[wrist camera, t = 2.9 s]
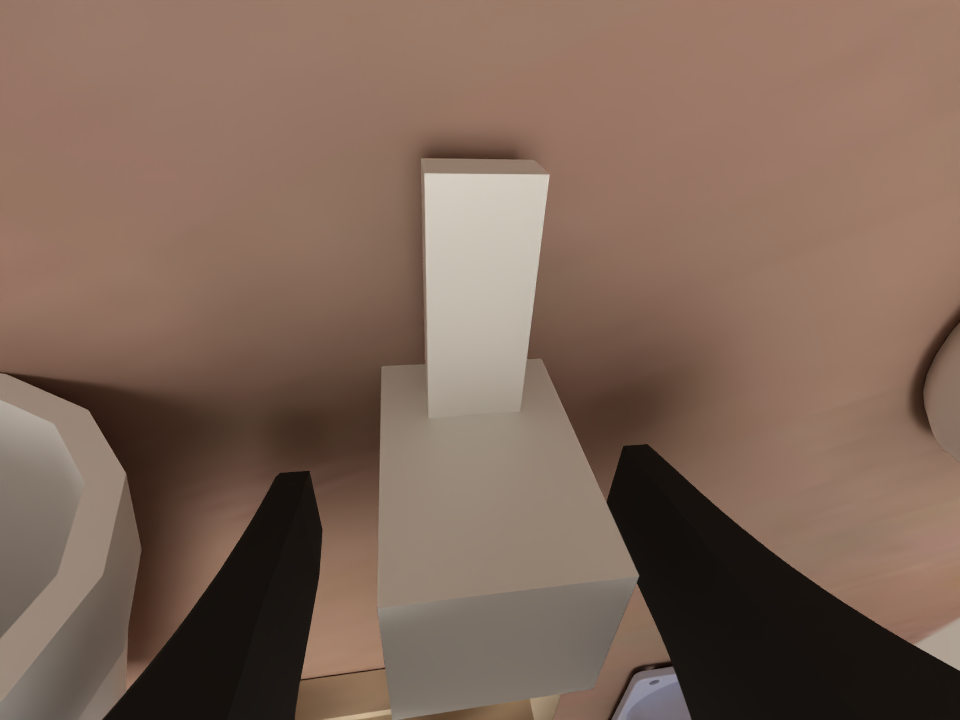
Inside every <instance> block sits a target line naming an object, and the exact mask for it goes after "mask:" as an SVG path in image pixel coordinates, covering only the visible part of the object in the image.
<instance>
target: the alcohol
mask: <svg viewBox="0 0 960 720" xmlns="http://www.w3.org/2000/svg"><path fill="white" fill-rule="evenodd" d="M923 397H924V407H925V410H926V413H927V417H928V420H929V423H930V427H931V430H932V433H933V435H934V437H935V439H936V441H937V443H938V445H939V446H940V447H941V448H942V449H944V450H945V451H946V452H947V453H949V454H950V455H951V456H952V457H954V458H955V459H956V460H958V461H959V462H960V322H959V323H958V325H957V326H956V327H955V328H954V329H953V331H952V332H951V333H950V334H949V336H948V337H947V339H946V340H945V342H944V343H943V345H942V346H941V348H940V349H939V351H938V353H937V354H936V356H935V358H934V360H933V362H932V364H931V367H930V369H929V371H928V373H927V376H926V381H925V385H924V390H923Z"/></svg>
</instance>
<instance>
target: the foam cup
mask: <svg viewBox="0 0 960 720" xmlns="http://www.w3.org/2000/svg"><path fill="white" fill-rule="evenodd" d="M141 550H142V549H141V544H140V539H139V535H138V530H137V525H136V520H135V515H134V510H133V505H132V500H131V495H130V490H129V485H128V481H127V476H126V473H125V471H124V469H123V468H122V466H121V464H120V462H119V461H118V459H117V457H116V456H115V454H114V452H113V451H112V449H111V447H110V446H109V444H108V442H107V441H106V439H105V437H104V436H103V434H102V432H101V431H100V429H99V427H98V426H97V424H96V422H95V420H94V419H93V417H92V415H91V414H90V412H89V410H87V409H85V408H83V407H80V406H78V405H76V404H73V403H71V402H69V401H67V400H64V399H62V398H60V397H57V396H55V395H53V394H51V393H48V392H46V391H44V390H41V389H39V388H37V387H34V386H32V385H30V384H28V383H25V382H23V381H21V380H18V379H16V378H14V377H12V376H9V375H7V374H1V373H0V720H102V719H103V718H104V717H105V716H106V715H107V713H108V712H109V711H110V710H111V709H112V708H113V706H114V705H115V704H116V703H117V702H118V701H119V699H120V698H121V697H122V696H123V695H124V694H125V693H126V681H127V647H128V625H129V620H130V614H131V608H132V602H133V596H134V590H135V585H136V579H137V573H138V567H139V561H140V555H141Z"/></svg>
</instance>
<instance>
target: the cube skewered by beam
mask: <svg viewBox="0 0 960 720" xmlns="http://www.w3.org/2000/svg"><path fill="white" fill-rule="evenodd" d="M548 183H549V174H548V173H547V172H546V171H545V170H544V169H543V168H542V167H541V166H540V165H539V164H538V163H537V162H536V161H535V160H511V159H442V158H421V193H422V242H423V291H424V340H425V364H418V365H397V366H381V420H380V474H379V529H378V583H377V612H378V619H379V626H380V634H381V641H382V648H383V656H384V663H385V670H386V678H387V685H388V693H389V700H390V707H391V715H392V720H399V719H406V718H412V717H418V716H425V715H431V714H437V713H444V712H450V711H456V710H463V709H469V708H475V707H482V706H488V705H494V704H500V703H507V702H513V701H519V700H526V699H532V698H538V697H545V696H551V695H557V694H564V693H570V692H576V691H582V690H589V689H593V688H594V686H595V683H596V681H597V678H598V676H599V673H600V671H601V668H602V666H603V664H604V661H605V659H606V656H607V654H608V651H609V649H610V646H611V644H612V641H613V639H614V637H615V634H616V632H617V629H618V627H619V624H620V622H621V619H622V617H623V615H624V612H625V610H626V607H627V605H628V602H629V600H630V597H631V595H632V592H633V590H634V588H635V585H636V583H637V580H638V578H639V574H638V572H637V570H636V568H635V565H634V563H633V561H632V559H631V556H630V554H629V552H628V550H627V548H626V545H625V543H624V541H623V539H622V536H621V534H620V532H619V530H618V528H617V525H616V523H615V521H614V519H613V516H612V514H611V512H610V510H609V508H608V505H607V503H606V501H605V499H604V496H603V494H602V492H601V490H600V488H599V485H598V483H597V481H596V479H595V476H594V474H593V472H592V470H591V468H590V465H589V463H588V461H587V459H586V456H585V454H584V452H583V450H582V447H581V445H580V443H579V441H578V439H577V436H576V434H575V432H574V430H573V427H572V425H571V423H570V421H569V419H568V416H567V414H566V412H565V410H564V407H563V405H562V403H561V401H560V399H559V396H558V394H557V392H556V390H555V387H554V385H553V383H552V381H551V379H550V376H549V374H548V372H547V370H546V367H545V365H544V363H543V361H542V359H527V353H528V345H529V337H530V329H531V321H532V312H533V304H534V296H535V288H536V280H537V272H538V264H539V256H540V248H541V240H542V232H543V224H544V216H545V207H546V199H547V191H548Z"/></svg>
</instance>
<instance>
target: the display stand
mask: <svg viewBox="0 0 960 720" xmlns="http://www.w3.org/2000/svg"><path fill="white" fill-rule="evenodd" d="M560 696H561V694H557V695H551V696H545V697H538V698H532V699H526V700H519V701H513V702H507V703H500V704H494V705H488V706H482V707H475V708H469V709H463V710H456V711H450V712H444V713H437V714H431V715H425V716H418V717H412V718H406V719H399V720H553V717H554V714H555V711H556V708H557V705H558V702H559V699H560ZM295 720H392V715H391V707H390V700H389V693H388V685H387V678H386V670H385V669H381V670H374V671H367V672H360V673H353V674H346V675H338V676H331V677H324V678H317V679H310V680H303V681H300V685H299V692H298V698H297V705H296V713H295Z"/></svg>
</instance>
